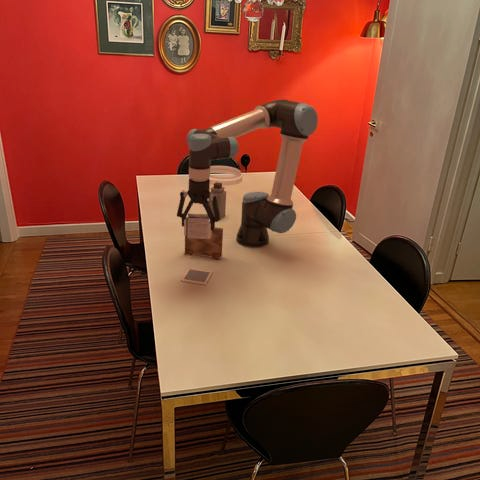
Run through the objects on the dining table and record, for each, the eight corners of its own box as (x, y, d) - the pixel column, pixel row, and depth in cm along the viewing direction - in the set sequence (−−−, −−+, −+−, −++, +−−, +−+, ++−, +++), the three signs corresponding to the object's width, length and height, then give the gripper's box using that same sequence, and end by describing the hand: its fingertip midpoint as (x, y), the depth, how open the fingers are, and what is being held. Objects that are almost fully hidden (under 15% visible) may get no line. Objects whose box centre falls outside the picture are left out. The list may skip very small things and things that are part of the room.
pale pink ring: (195, 183, 292) (195, 174, 290) (205, 171, 316) (205, 163, 314) (237, 188, 288) (238, 179, 286) (244, 175, 313) (245, 167, 310)
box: (208, 234, 179) (209, 213, 176) (208, 239, 175) (208, 218, 172) (187, 233, 179) (188, 212, 175) (187, 238, 175) (187, 217, 171)
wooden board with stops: (222, 254, 204) (223, 227, 198) (219, 259, 199) (221, 231, 194) (187, 249, 206) (187, 222, 201) (183, 254, 202) (183, 226, 196)
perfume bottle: (207, 217, 241) (208, 184, 234) (213, 213, 247) (214, 180, 239) (219, 220, 239) (221, 186, 231) (225, 215, 245) (226, 182, 237)
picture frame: (212, 273, 188) (212, 271, 188) (205, 285, 179) (206, 283, 179) (188, 269, 190) (188, 268, 189) (180, 281, 181) (180, 279, 180)
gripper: (230, 178, 169) (227, 235, 179) (174, 172, 172) (174, 228, 182) (226, 185, 162) (223, 243, 172) (167, 177, 166) (167, 236, 175)
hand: (197, 235), depth 177 cm, fingers closed on box, 9 cm apart
